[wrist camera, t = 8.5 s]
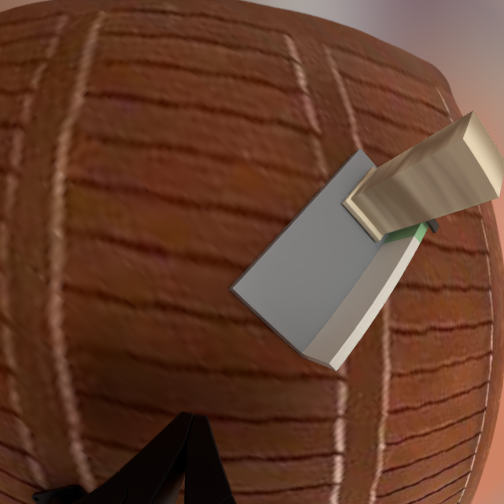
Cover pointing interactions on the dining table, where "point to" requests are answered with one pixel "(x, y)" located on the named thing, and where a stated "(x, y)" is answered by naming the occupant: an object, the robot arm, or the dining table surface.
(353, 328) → the board
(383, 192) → the beige brown box
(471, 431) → the dining table surface
